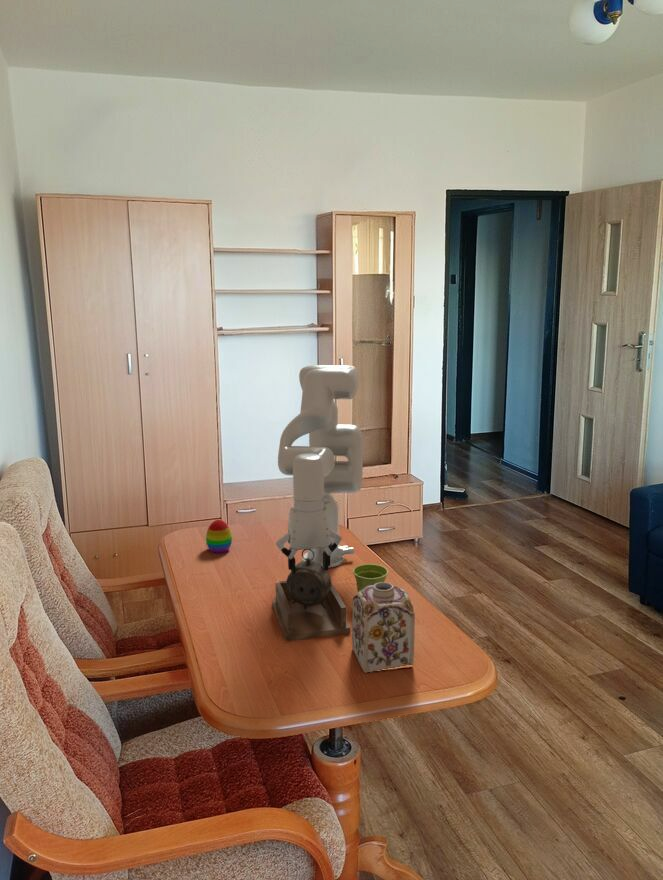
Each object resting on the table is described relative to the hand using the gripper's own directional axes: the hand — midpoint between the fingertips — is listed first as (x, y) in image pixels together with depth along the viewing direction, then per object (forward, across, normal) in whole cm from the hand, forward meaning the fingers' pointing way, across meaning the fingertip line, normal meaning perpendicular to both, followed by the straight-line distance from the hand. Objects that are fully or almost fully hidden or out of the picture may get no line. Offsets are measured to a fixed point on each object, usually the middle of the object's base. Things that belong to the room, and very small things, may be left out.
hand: (309, 569), depth 181 cm
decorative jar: (+13, -12, +23) cm, 29 cm away
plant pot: (+14, -18, -6) cm, 23 cm away
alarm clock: (+11, 0, 0) cm, 11 cm away
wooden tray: (+13, 0, 0) cm, 13 cm away
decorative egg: (+14, +18, -53) cm, 57 cm away
